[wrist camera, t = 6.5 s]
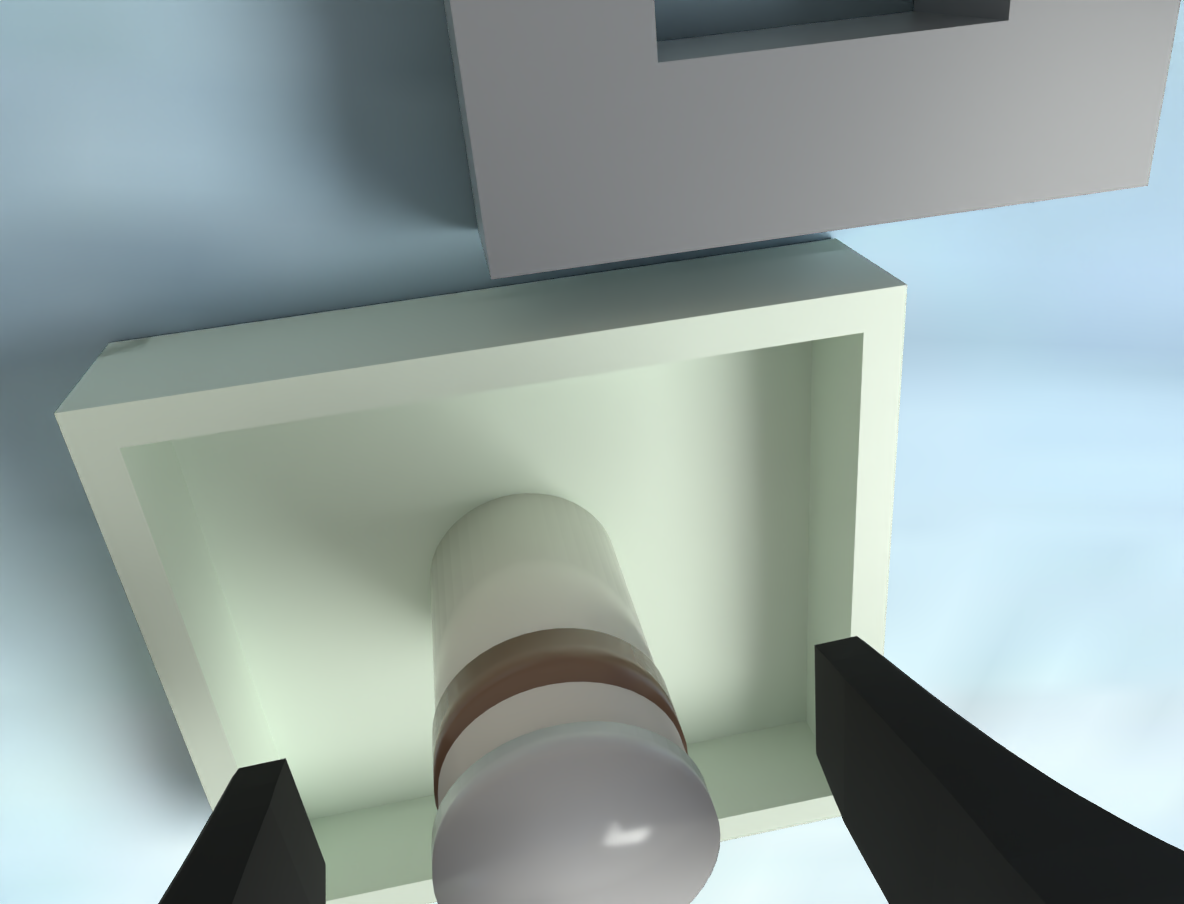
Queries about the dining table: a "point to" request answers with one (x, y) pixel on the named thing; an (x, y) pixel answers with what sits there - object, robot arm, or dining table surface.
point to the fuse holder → (791, 120)
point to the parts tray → (486, 472)
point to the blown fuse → (554, 723)
